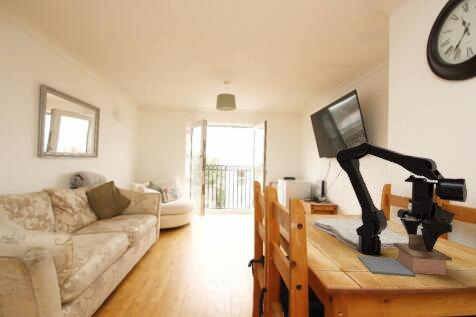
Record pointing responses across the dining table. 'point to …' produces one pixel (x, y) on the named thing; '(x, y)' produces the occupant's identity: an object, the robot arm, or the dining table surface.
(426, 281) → the dining table surface
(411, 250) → the walnut lid
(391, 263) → the rubber mat
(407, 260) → the pink open tray
